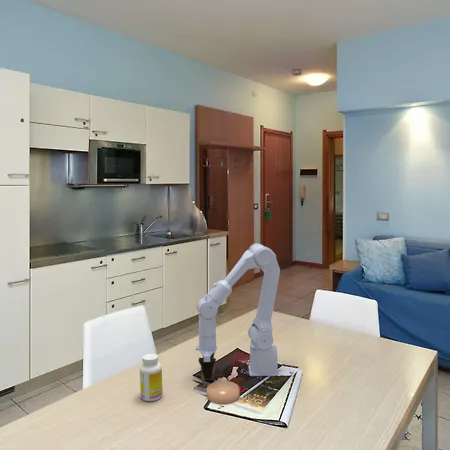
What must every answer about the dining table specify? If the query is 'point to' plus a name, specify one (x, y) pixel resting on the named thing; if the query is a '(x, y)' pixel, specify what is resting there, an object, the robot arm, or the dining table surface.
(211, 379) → the walnut block
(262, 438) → the dining table surface
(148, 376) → the supplement bottle
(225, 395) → the tan round disc
